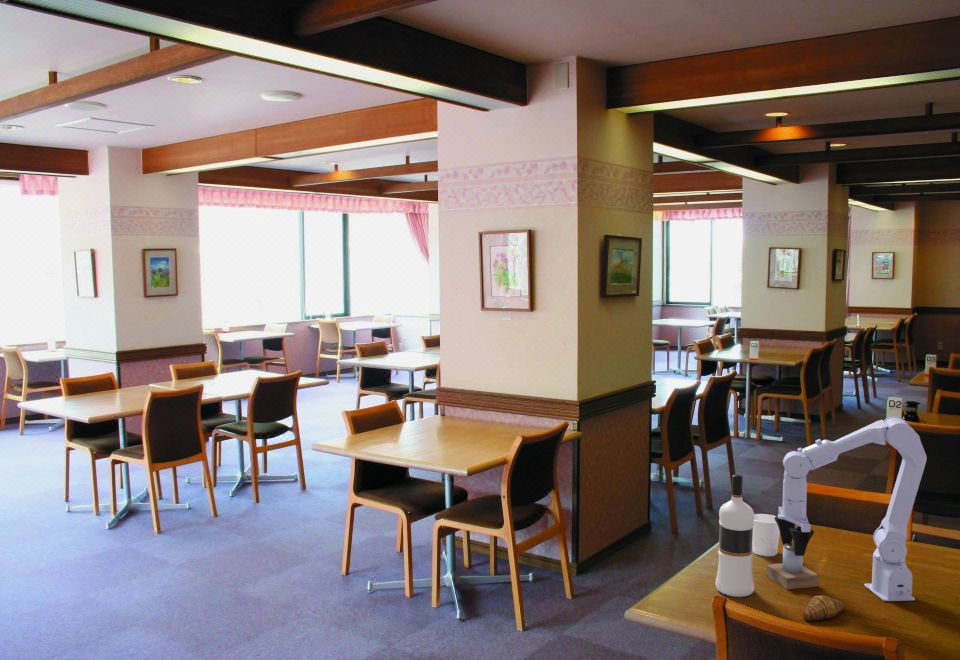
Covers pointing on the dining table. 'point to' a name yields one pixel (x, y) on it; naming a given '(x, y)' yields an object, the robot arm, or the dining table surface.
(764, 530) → the white cup
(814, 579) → the walnut box
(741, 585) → the vodka
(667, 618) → the dining table surface
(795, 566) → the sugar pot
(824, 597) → the croissant
